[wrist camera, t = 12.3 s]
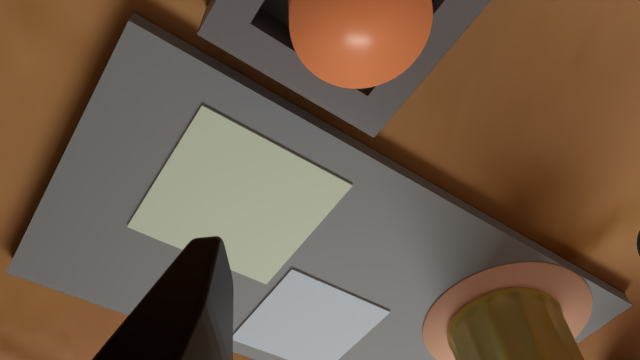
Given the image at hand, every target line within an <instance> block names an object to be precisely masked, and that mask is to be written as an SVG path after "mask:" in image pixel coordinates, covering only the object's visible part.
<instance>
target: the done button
mask: <svg viewBox="0 0 640 360" xmlns="http://www.w3.org/2000/svg"><path fill="white" fill-rule="evenodd" d="M288 8H289V31H290V37H291V41H292V44H293V47H294V49H295V51H296V54H297V55H298V57H299V59H300V60H301V62H302V63H303V64H304V65H305V66H306V68H307V69H308V70H309V71H311V72H312V73H313V74H314V75H315V76H317V77H318V78H320V79H321V80H323V81H325V82H327V83H329V84H332V85H335V86H339V87H343V88H350V89H362V88H370V87H374V86H378V85H381V84H383V83H386V82H388V81H390V80H392V79H394V78H396V77H397V76H399V75H400V74H402V73H403V72H404V71H405V70H406V69H408V68H409V67H410V66H411V65H412V64H413V63H414V61H415V60H416V59H417V58H418V56H419V55H420V54H421V52H422V50H423V48H424V47H425V45H426V42H427V40H428V38H429V35H430V31H431V27H432V20H433V6H432V0H288Z"/></svg>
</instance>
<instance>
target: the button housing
mask: <svg viewBox="0 0 640 360" xmlns="http://www.w3.org/2000/svg"><path fill="white" fill-rule="evenodd" d="M490 1H491V0H432V6H433V20H432V27H431V31H430V35H429V38H428V40H427V42H426V45H425V47H424V48H423V50H422V52H421V54H420V55H419V56H418V58H417V59H416V60H415V61H414V63H413V64H412V65H411V66H410V67H409V68H408V69H406V70H405V71H404V72H403V73H402V74H400V75H399V76H397V77H396V78H394V79H392V80H390V81H388V82H386V83H383V84H381V85H378V86H374V87H370V88H362V89H350V88H343V87H339V86H335V85H332V84H329V83H327V82H325V81H323V80H321V79H320V78H318V77H317V76H315V75H314V74H313V73H312V72H311V71H309V70H308V69H307V68H306V66H305V65H304V64H303V63H302V62H301V60H300V59H299V57H298V55H297V54H296V51H295V49H294V47H293V44H292V41H291V37H290V31H289V8H288V0H210V2H209V4H208V5H207V7H206V10H205V12H204V15H203V18H202V21H201V24H200V27H199V30H198V33H197V35H198V36H200V37H202V38H204V39H205V40H207V41H209V42H210V43H212V44H214V45H216V46H217V47H219V48H221V49H222V50H224V51H226V52H228V53H229V54H231V55H233V56H234V57H236V58H238V59H240V60H241V61H243V62H245V63H246V64H248V65H250V66H252V67H253V68H255V69H257V70H258V71H260V72H262V73H264V74H265V75H267V76H269V77H270V78H272V79H274V80H275V81H277V82H279V83H281V84H282V85H284V86H286V87H287V88H289V89H291V90H293V91H294V92H296V93H298V94H299V95H301V96H303V97H305V98H306V99H308V100H310V101H311V102H313V103H315V104H317V105H318V106H320V107H322V108H323V109H325V110H327V111H329V112H330V113H332V114H334V115H335V116H337V117H339V118H341V119H342V120H344V121H346V122H347V123H349V124H351V125H353V126H354V127H356V128H358V129H359V130H361V131H363V132H365V133H366V134H368V135H370V136H371V137H373V138H374V137H375V136H376V135H377V134H378V132H379V131H380V130H381V129H382V128H383V127H384V125H385V124H386V123H387V122H388V121H389V120H390V118H391V117H392V116H393V115H394V114H395V112H396V111H397V110H398V109H399V108H400V107H401V105H402V104H403V103H404V102H405V101H406V100H407V98H408V97H409V96H410V95H411V94H412V92H413V91H414V90H415V89H416V88H417V87H418V85H419V84H420V83H421V82H422V81H423V79H424V78H425V77H426V76H427V75H428V74H429V72H430V71H431V70H432V69H433V68H434V67H435V65H436V64H437V63H438V62H439V61H440V59H441V58H442V57H443V56H444V55H445V54H446V52H447V51H448V50H449V49H450V48H451V47H452V45H453V44H454V43H455V42H456V41H457V39H458V38H459V37H460V36H461V35H462V34H463V32H464V31H465V30H466V29H467V28H468V27H469V25H470V24H471V23H472V22H473V21H474V19H475V18H476V17H477V16H478V15H479V14H480V12H481V11H482V10H483V9H484V8H485V7H486V5H487V4H488V3H489V2H490Z"/></svg>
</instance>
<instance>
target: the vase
mask: <svg viewBox="0 0 640 360" xmlns="http://www.w3.org/2000/svg"><path fill="white" fill-rule="evenodd" d="M447 342H448V345H449V348H450V349H451V351H452V353H453V355H454V357H455V360H584V359H583V357H582V355H581V352H580V350H579V348H578V346H577V343H576V341H575V339H574V337H573V335H572V333H571V330H570V328H569V326H568V324H567V322H566V320H565V318H564V315H563V311H562V308H561V305H560V303H559V302H558V301H557V300H556V299H555V298H554V297H552V296H551V295H549V294H548V293H546V292H544V291H541V290H538V289H535V288H529V287H509V288H503V289H498V290H495V291H491V292H488V293H485V294H483V295H481V296H479V297H477V298H475V299H473V300H472V301H470V302H468V303H467V304H466V305H464V306H463V307H462V308H461V309H460V310H459V311H458V312H457V313H456V314H455V315H454V317H453V318H452V320H451V321H450V323H449V326H448V329H447Z"/></svg>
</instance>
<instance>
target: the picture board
mask: <svg viewBox="0 0 640 360" xmlns="http://www.w3.org/2000/svg"><path fill="white" fill-rule="evenodd" d="M211 236H219V237H220V238H222V240H223V242H224V245H225V249H226V253H227V257H228V261H229V265H230V269H231V273H232V278H233V289H234V298H233V352H235V353H237V354H240V355H243V356H246V357H249V358H252V359H255V360H455V357H454V355H453V353H452V351H451V349H450V348H449V345H448V342H447V329H448V326H449V323H450V321H451V320H452V318H453V317H454V315H455V314H456V313H457V312H458V311H459V310H460V309H461V308H462V307H463V306H464V305H466V304H467V303H468V302H470V301H472V300H473V299H475V298H477V297H479V296H481V295H483V294H485V293H488V292H491V291H495V290H498V289H503V288H509V287H529V288H535V289H538V290H541V291H544V292H546V293H548V294H549V295H551V296H552V297H554V298H555V299H556V300H557V301H558V302H559V303H560V305H561V308H562V311H563V315H564V318H565V320H566V322H567V324H568V326H569V328H570V330H571V333H572V335H573V337H574V339H575V341H576V343H579V342H580V341H582V340H583V339H585V338H586V337H587V336H589V335H590V334H592V333H593V332H595V331H596V330H598V329H599V328H601V327H602V326H603V325H605V324H606V323H608V322H609V321H611V320H612V319H614V318H615V317H616V316H618V315H619V314H621V313H622V312H624V311H625V310H627V309H628V308H630V307H631V306H632V304H631V302H630V301H629V299H628V298H627V296H626V295H625V294H624V293H623V292H621V291H619V290H617V289H616V288H614V287H612V286H610V285H609V284H607V283H605V282H603V281H602V280H600V279H598V278H596V277H595V276H593V275H591V274H589V273H588V272H586V271H584V270H582V269H581V268H579V267H577V266H575V265H574V264H572V263H570V262H568V261H567V260H565V259H563V258H561V257H560V256H558V255H556V254H555V253H553V252H551V251H549V250H548V249H546V248H544V247H542V246H541V245H539V244H537V243H535V242H534V241H532V240H530V239H528V238H527V237H525V236H523V235H521V234H520V233H518V232H516V231H514V230H513V229H511V228H509V227H507V226H506V225H504V224H502V223H500V222H499V221H497V220H495V219H493V218H492V217H490V216H488V215H486V214H485V213H483V212H481V211H480V210H478V209H476V208H474V207H473V206H471V205H469V204H467V203H466V202H464V201H462V200H460V199H459V198H457V197H455V196H453V195H452V194H450V193H448V192H446V191H445V190H443V189H441V188H439V187H438V186H436V185H434V184H432V183H431V182H429V181H427V180H425V179H424V178H422V177H420V176H418V175H417V174H415V173H413V172H411V171H410V170H408V169H406V168H405V167H403V166H401V165H399V164H398V163H396V162H394V161H392V160H391V159H389V158H387V157H385V156H384V155H382V154H380V153H378V152H377V151H375V150H373V149H371V148H370V147H368V146H366V145H364V144H363V143H361V142H359V141H357V140H356V139H354V138H352V137H350V136H349V135H347V134H345V133H343V132H342V131H340V130H338V129H336V128H335V127H333V126H331V125H330V124H328V123H326V122H324V121H323V120H321V119H319V118H317V117H316V116H314V115H312V114H310V113H309V112H307V111H305V110H303V109H302V108H300V107H298V106H296V105H295V104H293V103H291V102H289V101H288V100H286V99H284V98H282V97H281V96H279V95H277V94H275V93H274V92H272V91H270V90H268V89H267V88H265V87H263V86H261V85H260V84H258V83H256V82H255V81H253V80H251V79H249V78H248V77H246V76H244V75H242V74H241V73H239V72H237V71H235V70H234V69H232V68H230V67H228V66H227V65H225V64H223V63H221V62H220V61H218V60H216V59H214V58H213V57H211V56H209V55H207V54H206V53H204V52H202V51H200V50H199V49H197V48H195V47H193V46H192V45H190V44H188V43H186V42H185V41H183V40H181V39H180V38H178V37H176V36H174V35H173V34H171V33H169V32H167V31H166V30H164V29H162V28H160V27H159V26H157V25H155V24H153V23H152V22H150V21H148V20H146V19H145V18H143V17H141V16H139V15H138V14H136V13H133V14H132V16H131V17H130V19H129V20H128V22H127V25H126V27H125V29H124V31H123V33H122V35H121V37H120V39H119V41H118V43H117V45H116V47H115V49H114V51H113V53H112V55H111V57H110V59H109V62H108V64H107V66H106V68H105V70H104V72H103V74H102V76H101V78H100V80H99V82H98V84H97V86H96V88H95V90H94V92H93V94H92V96H91V99H90V101H89V103H88V105H87V107H86V109H85V111H84V113H83V115H82V117H81V119H80V121H79V123H78V125H77V127H76V129H75V131H74V133H73V136H72V138H71V140H70V142H69V144H68V146H67V148H66V150H65V152H64V154H63V156H62V158H61V160H60V162H59V164H58V166H57V168H56V171H55V173H54V175H53V177H52V179H51V181H50V183H49V185H48V187H47V189H46V191H45V193H44V195H43V197H42V199H41V201H40V203H39V205H38V208H37V210H36V212H35V214H34V216H33V218H32V220H31V222H30V224H29V226H28V228H27V230H26V232H25V234H24V236H23V238H22V240H21V242H20V245H19V247H18V249H17V251H16V253H15V255H14V257H13V259H12V261H11V263H10V265H9V267H8V269H7V271H6V273H8V274H11V275H14V276H17V277H20V278H22V279H25V280H28V281H31V282H34V283H37V284H40V285H42V286H45V287H48V288H51V289H54V290H57V291H60V292H63V293H65V294H68V295H71V296H74V297H77V298H80V299H83V300H85V301H88V302H91V303H94V304H97V305H100V306H103V307H106V308H108V309H111V310H114V311H117V312H120V313H123V314H126V315H129V314H130V313H131V312H132V311H133V309H134V308H135V307H136V306H137V305H138V303H139V302H140V301H141V300H142V299H143V297H144V296H145V295H146V294H147V293H148V291H149V290H150V289H151V288H152V286H153V285H154V284H155V283H156V282H157V280H158V279H159V278H160V277H161V276H162V274H163V273H164V272H165V271H166V270H167V268H168V267H169V266H170V265H171V264H172V262H173V261H174V260H175V259H176V257H177V256H178V255H179V254H180V253H181V251H182V250H183V249H184V248H185V247H186V245H187V244H188V243H189V242H190V241H191V240H193V239H195V238H201V237H211Z"/></svg>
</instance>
